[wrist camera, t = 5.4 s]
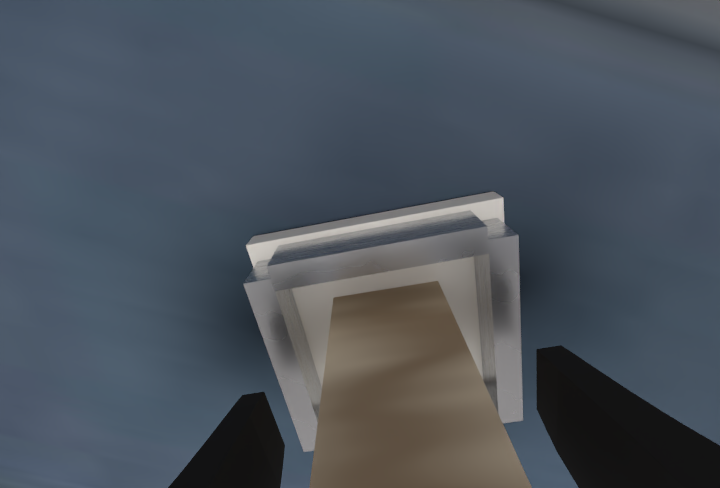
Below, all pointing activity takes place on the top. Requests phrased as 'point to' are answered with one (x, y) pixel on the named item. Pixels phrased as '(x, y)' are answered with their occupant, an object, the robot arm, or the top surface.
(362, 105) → the top surface
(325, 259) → the white square tray
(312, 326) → the tile
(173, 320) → the top surface
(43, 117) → the top surface
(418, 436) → the wooden block
